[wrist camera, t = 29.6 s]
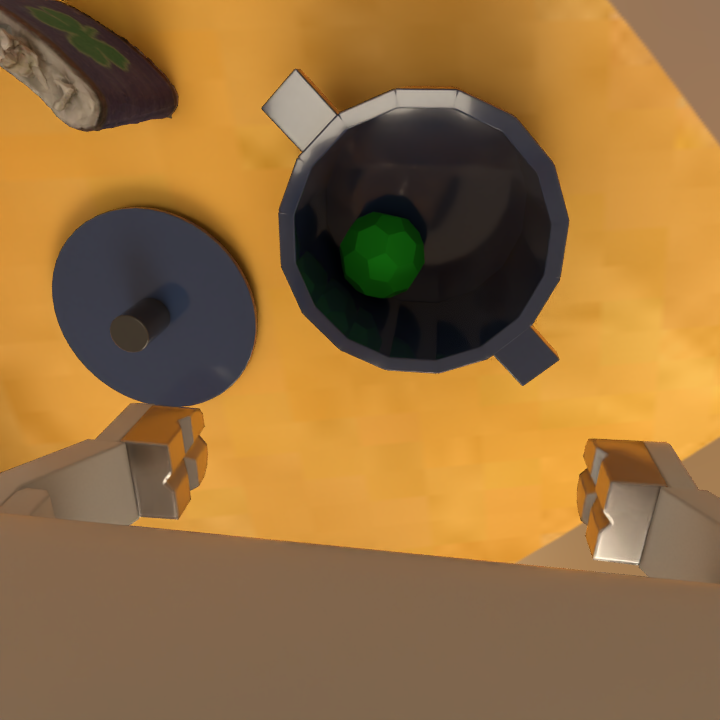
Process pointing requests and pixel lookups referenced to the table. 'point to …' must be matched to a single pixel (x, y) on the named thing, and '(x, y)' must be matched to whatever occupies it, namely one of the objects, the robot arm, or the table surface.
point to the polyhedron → (381, 255)
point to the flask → (81, 66)
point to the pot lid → (154, 306)
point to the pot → (423, 225)
